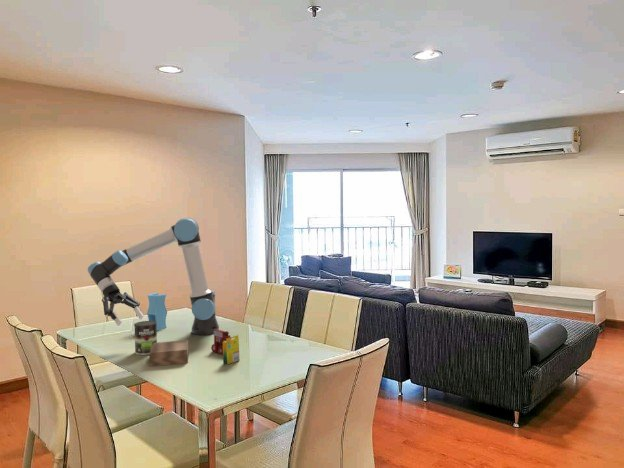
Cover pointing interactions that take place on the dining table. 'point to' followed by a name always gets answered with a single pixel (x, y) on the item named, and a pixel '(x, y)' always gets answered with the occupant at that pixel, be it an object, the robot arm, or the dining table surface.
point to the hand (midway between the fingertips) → (131, 320)
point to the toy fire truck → (219, 340)
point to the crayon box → (231, 350)
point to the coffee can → (145, 336)
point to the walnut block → (169, 353)
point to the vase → (157, 310)
